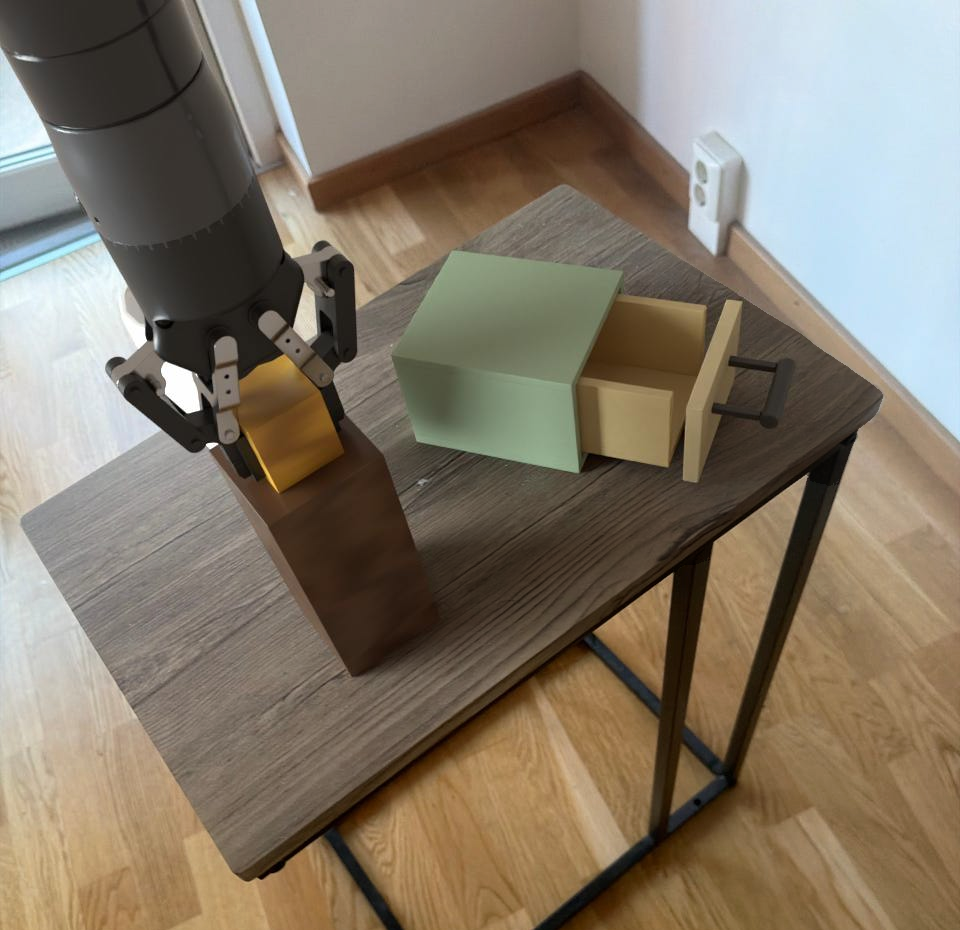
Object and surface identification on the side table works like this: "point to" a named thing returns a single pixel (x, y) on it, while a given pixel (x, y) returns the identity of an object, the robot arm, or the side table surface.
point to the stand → (343, 550)
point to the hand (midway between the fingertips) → (292, 447)
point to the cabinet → (504, 356)
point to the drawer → (667, 382)
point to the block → (286, 422)
